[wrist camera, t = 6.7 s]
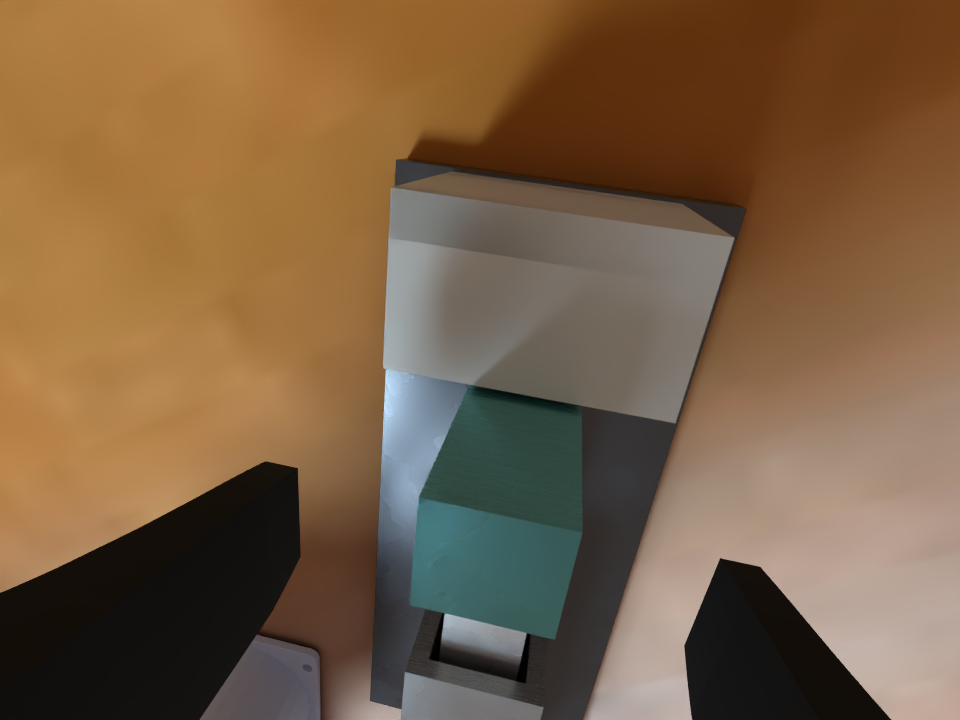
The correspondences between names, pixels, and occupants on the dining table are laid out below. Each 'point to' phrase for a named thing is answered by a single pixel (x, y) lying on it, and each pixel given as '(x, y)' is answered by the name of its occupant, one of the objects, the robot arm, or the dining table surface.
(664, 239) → the socket
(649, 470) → the grey long angular block
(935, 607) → the dining table surface
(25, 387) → the dining table surface
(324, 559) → the dining table surface
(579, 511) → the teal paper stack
